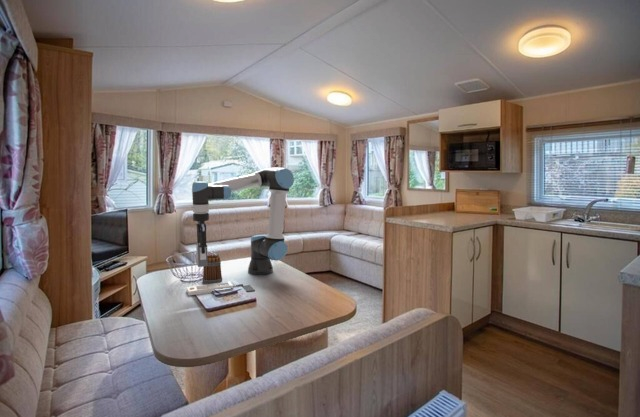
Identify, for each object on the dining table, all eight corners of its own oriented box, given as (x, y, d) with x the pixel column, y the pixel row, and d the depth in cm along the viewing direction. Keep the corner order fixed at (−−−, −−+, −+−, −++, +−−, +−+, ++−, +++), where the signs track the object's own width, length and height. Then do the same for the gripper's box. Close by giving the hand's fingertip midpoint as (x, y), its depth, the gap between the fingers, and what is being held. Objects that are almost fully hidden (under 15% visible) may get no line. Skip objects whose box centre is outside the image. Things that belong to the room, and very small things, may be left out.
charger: (206, 263, 181) (205, 241, 180) (207, 266, 177) (207, 243, 176) (196, 264, 179) (196, 242, 178) (198, 267, 175) (197, 244, 174)
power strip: (241, 285, 192) (241, 278, 192) (244, 289, 186) (244, 282, 186) (186, 292, 179) (186, 286, 179) (188, 297, 173) (188, 290, 173)
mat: (249, 285, 192) (249, 284, 192) (254, 291, 184) (254, 289, 184) (233, 288, 188) (233, 287, 187) (237, 293, 180) (237, 292, 180)
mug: (218, 286, 190) (218, 259, 188) (199, 285, 190) (199, 258, 188) (227, 277, 205) (226, 252, 204) (209, 277, 206) (208, 252, 204)
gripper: (190, 211, 181) (191, 255, 184) (195, 215, 165) (197, 263, 168) (205, 210, 184) (206, 253, 187) (212, 214, 169) (213, 261, 172)
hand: (202, 258), depth 178 cm, fingers closed on charger, 4 cm apart
